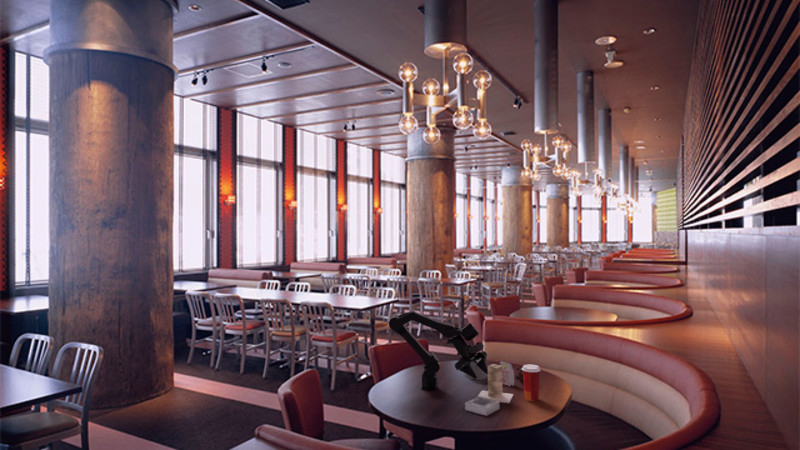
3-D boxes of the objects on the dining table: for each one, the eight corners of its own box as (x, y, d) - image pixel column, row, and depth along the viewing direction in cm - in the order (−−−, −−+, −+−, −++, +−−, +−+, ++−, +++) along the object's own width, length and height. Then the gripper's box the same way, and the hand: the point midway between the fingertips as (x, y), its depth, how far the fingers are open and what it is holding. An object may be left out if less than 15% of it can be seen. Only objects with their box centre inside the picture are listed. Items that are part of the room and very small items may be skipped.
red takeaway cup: (542, 371, 230) (523, 365, 244) (528, 368, 227) (511, 363, 241) (540, 386, 228) (521, 380, 242) (526, 384, 226) (509, 377, 240)
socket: (465, 409, 199) (464, 402, 200) (478, 403, 207) (478, 396, 207) (486, 416, 193) (485, 408, 193) (499, 408, 200) (499, 401, 200)
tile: (476, 399, 212) (476, 397, 212) (482, 391, 221) (482, 390, 221) (509, 403, 206) (509, 401, 206) (513, 395, 216) (513, 394, 216)
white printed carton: (503, 381, 236) (502, 360, 236) (514, 384, 230) (513, 363, 230) (497, 383, 233) (497, 361, 234) (509, 386, 228) (508, 365, 228)
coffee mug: (491, 377, 242) (490, 357, 242) (476, 381, 237) (475, 360, 237) (472, 371, 253) (472, 351, 253) (458, 374, 248) (457, 354, 248)
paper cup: (541, 397, 213) (540, 364, 213) (540, 403, 206) (539, 369, 206) (522, 395, 216) (522, 363, 216) (521, 401, 208) (520, 368, 209)
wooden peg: (488, 396, 214) (487, 366, 214) (493, 393, 217) (493, 364, 217) (497, 398, 211) (496, 368, 211) (502, 395, 214) (502, 365, 214)
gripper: (459, 340, 215) (481, 370, 207) (483, 333, 228) (504, 361, 221) (445, 355, 220) (466, 385, 213) (469, 347, 234) (489, 375, 226)
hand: (482, 376), depth 218 cm, fingers open, 9 cm apart
